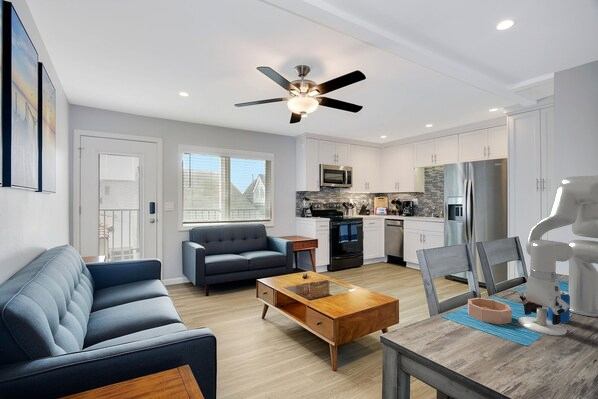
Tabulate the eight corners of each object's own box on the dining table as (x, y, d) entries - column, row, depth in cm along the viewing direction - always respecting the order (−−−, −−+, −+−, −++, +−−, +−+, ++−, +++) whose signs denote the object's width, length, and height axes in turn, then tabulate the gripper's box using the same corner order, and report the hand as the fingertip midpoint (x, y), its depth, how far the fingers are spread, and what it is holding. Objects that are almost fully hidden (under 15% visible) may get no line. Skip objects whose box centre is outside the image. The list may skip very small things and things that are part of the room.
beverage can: (573, 325, 117) (574, 295, 117) (554, 323, 119) (555, 293, 118) (562, 318, 124) (563, 289, 124) (544, 317, 125) (545, 288, 125)
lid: (533, 316, 124) (533, 300, 124) (575, 332, 110) (576, 313, 110) (509, 321, 119) (509, 304, 119) (550, 338, 105) (550, 319, 105)
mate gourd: (540, 315, 126) (541, 280, 126) (518, 310, 132) (518, 276, 132) (544, 311, 131) (545, 277, 131) (522, 306, 137) (523, 273, 137)
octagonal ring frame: (484, 308, 134) (485, 296, 134) (518, 322, 120) (519, 308, 120) (460, 312, 129) (460, 300, 129) (492, 327, 115) (492, 313, 115)
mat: (538, 319, 122) (538, 318, 122) (570, 331, 112) (570, 329, 112) (513, 324, 117) (513, 323, 117) (544, 337, 107) (544, 336, 107)
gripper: (576, 280, 107) (574, 327, 108) (525, 268, 124) (524, 309, 124) (562, 282, 105) (561, 330, 105) (512, 270, 121) (511, 311, 121)
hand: (541, 319), depth 114 cm, fingers open, 9 cm apart
